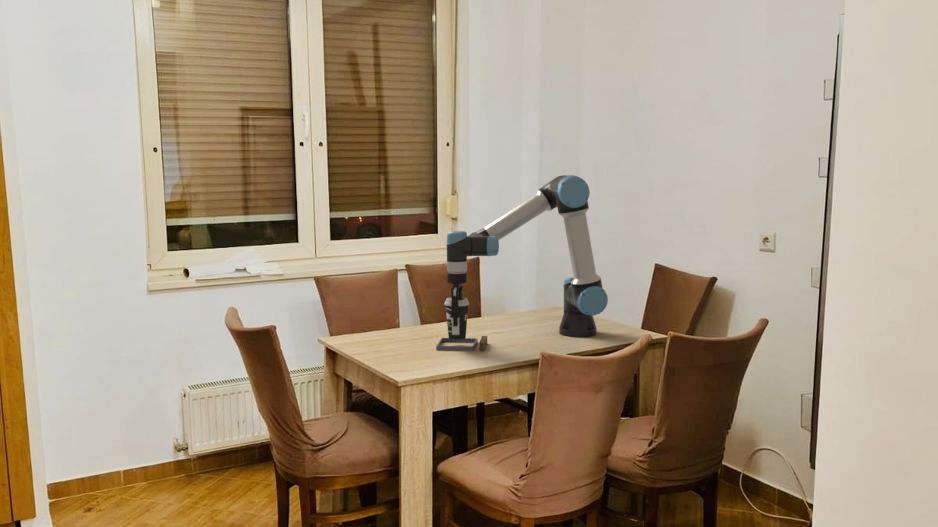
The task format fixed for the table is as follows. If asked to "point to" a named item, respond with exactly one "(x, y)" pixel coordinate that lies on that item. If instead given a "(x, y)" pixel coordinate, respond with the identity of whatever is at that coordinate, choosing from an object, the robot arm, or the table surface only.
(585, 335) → the robot arm
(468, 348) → the frame
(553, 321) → the table surface
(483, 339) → the edge strip
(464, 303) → the coffee cup
